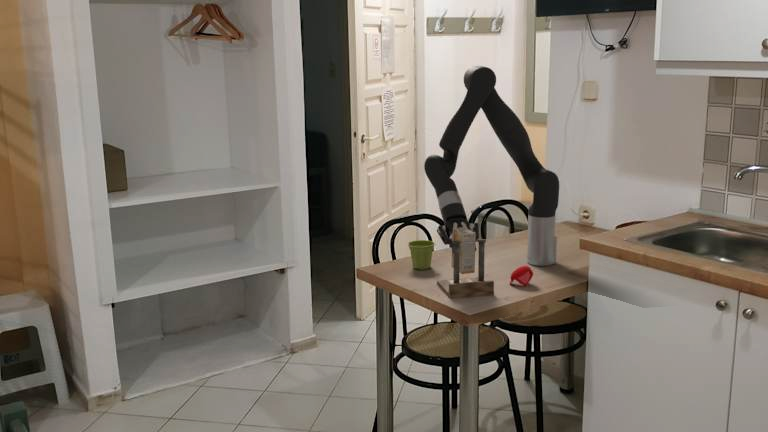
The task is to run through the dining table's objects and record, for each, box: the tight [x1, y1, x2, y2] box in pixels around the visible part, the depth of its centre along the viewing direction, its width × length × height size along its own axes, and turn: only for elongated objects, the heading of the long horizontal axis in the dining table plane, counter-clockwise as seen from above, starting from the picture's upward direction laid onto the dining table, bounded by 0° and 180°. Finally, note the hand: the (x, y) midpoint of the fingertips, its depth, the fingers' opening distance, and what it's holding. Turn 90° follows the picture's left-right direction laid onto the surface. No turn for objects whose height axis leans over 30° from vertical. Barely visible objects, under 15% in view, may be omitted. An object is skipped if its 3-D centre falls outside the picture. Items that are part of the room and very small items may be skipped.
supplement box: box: [451, 227, 476, 275], centre depth 237 cm, size 8×5×13 cm, turn 18°
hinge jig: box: [436, 238, 495, 299], centre depth 236 cm, size 14×15×17 cm
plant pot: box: [407, 239, 436, 271], centre depth 262 cm, size 9×9×9 cm
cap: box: [509, 265, 534, 287], centre depth 241 cm, size 8×6×6 cm
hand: (465, 253), depth 235 cm, fingers closed on supplement box, 5 cm apart
